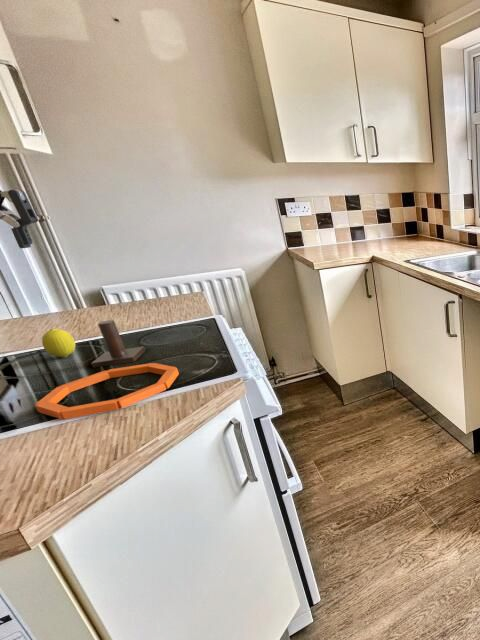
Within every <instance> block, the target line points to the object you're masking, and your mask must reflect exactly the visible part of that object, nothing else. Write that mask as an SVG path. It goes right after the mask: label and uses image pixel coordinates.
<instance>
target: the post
mask: <svg viewBox="0 0 480 640" xmlns="http://www.w3.org/2000/svg"><path fill="white" fill-rule="evenodd" d="M97 326H98V328H99V331H100V333H101V335H102V338H103V340H104V343H105V345H106V348H107V350H108V351H105V352H104V353H102V354H101V355H99V356H98V357H97V358H96V359H95V360H93V361H92V362H91V363H90V364H91V366H92V368H93V369H94V368H101V367H107V366H114V365H121V364H127V363H132V362H133V363H134V362H135V361H137V360H138V359H139V358H140V357H141V356H142V355H143V354H144V353H145V352H146V347H145V346H138V347H131V348H130V347H129V348H125V344H124V342H123V340H122V337H121V334H120V332H119V329H118V328H117V325H116V321H115V320H114V319H110V320H103V321H100V322H98V323H97Z"/></svg>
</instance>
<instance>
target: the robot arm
mask: <svg viewBox="0 0 480 640" xmlns="http://www.w3.org/2000/svg"><path fill="white" fill-rule="evenodd" d="M26 194H27V193H26V192H25V191H24V190H22V189H9V190H4V191H3V190H1V189H0V220H2V221H3V222H5V223H6V224H8V225H9V226H11V227H12V228H10V230H11V233H12V234H13V236H14V239H15V242H16V243H17V246H18V248H19V249H28V248H31V246H32V244H33V239H32V236H31V234H30V232H29V229H28V226H30V225H31V224H34V223H38V222H39V218H38V217H37V214H36V212H35V210H34V209H33V206H32V204H31V203H30V202H31V201H30V200H29V198H28V196H27V195H26ZM5 199H6V200H8V202H10V203H11V204H13V206H14V208H15V210H16V212H17V213H18V215H17V214H16V213H15V212H14V211H13V210H11V209H10V208H8V206H6V205H4V204H3V203H4V202H5Z"/></svg>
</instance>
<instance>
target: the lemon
mask: <svg viewBox="0 0 480 640" xmlns="http://www.w3.org/2000/svg"><path fill="white" fill-rule="evenodd" d="M41 343H42V347H43V349H44V350H45V352H46V353H47V354H49V355H51V356H53V357H57V358H58V357H60V358H63V359H65V358H68V357H69V356H70V355H71V354H72V353H74V351H75V349H76V341H75V339H74V337H73V336H72V335H71V334H70V333H69V332H67V331H66V330H63V329H57V328H50V329H49V330H48V331H46V332H45V333H44V334H43V335H42V337H41Z"/></svg>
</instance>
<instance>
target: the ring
mask: <svg viewBox="0 0 480 640" xmlns="http://www.w3.org/2000/svg"><path fill="white" fill-rule="evenodd" d="M145 373H151V374H157V375H161V376H160V378H159V379H158V381H157V382H156V383H154V384H151V385H148V386H146V387H143V388H140V389H138V390H136V391H133V392H131V393H128V394H125V395H123V396H121V397H118V398H114V399H108V400H103V401H97V402H91V403H85V404H80V405H74V406H65V405H62V404H59V403H60V401H61V400H63V399H64V398H65V397H66V396H68V395H69V394H70V393H72V392H75V391H77V390H81V389H84V388H85V387H86V388H87V387H89V386H92V385H94V384H98V383H100V382H103V381H106V380H109V379H113V378H119V377H126V376H132V375H139V374H145ZM179 375H180V373H179V370H178V368H177V366H173V365H167V364H161V363H156V362H149V363H142V364H136V365H129V366H124V367H123V366H121V367H116V368H110V369H108V370H101V371H99V372H97V373H94V374H90V375H88V376H85V377H82V378H79V379H75V380H72V381H70V382H67V383H63V384H61V385H59V386H56V387H54V389H53V390H51V391H50V392H48V394H46V395H45V396H43V397H42V398H41V399H39V400H38V401H37V402H35V404H34V405H35V408H36V410H37V413H39V414H44V415H46V416H50V417H53V418H56V419H59V420H63V419H64V420H66V419H67V420H68V419H72V418H79V417H83V416H88V415H89V416H90V415H94V414H100V413H105V412H110V411H111V412H112V411H116V410H117V411H118V410H119V409H124V408H126V407H129V406H131V405H133V404H135V403H138V402H141V401H144V400H145V399H147V398H150V397H152V396H155V395H157V394H160V393H162V392H164V391H166V390H167V389H169V388H170V387H171V386H172V384H173V383H174V382H175V381H176V379H177V378H178V376H179Z"/></svg>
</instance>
